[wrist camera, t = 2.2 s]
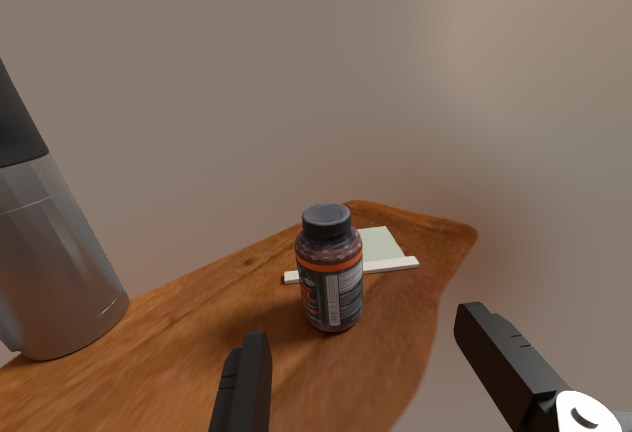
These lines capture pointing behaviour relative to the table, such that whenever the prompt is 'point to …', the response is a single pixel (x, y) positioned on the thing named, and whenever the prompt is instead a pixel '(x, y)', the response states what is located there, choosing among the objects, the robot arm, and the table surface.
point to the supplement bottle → (330, 267)
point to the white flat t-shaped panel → (375, 254)
